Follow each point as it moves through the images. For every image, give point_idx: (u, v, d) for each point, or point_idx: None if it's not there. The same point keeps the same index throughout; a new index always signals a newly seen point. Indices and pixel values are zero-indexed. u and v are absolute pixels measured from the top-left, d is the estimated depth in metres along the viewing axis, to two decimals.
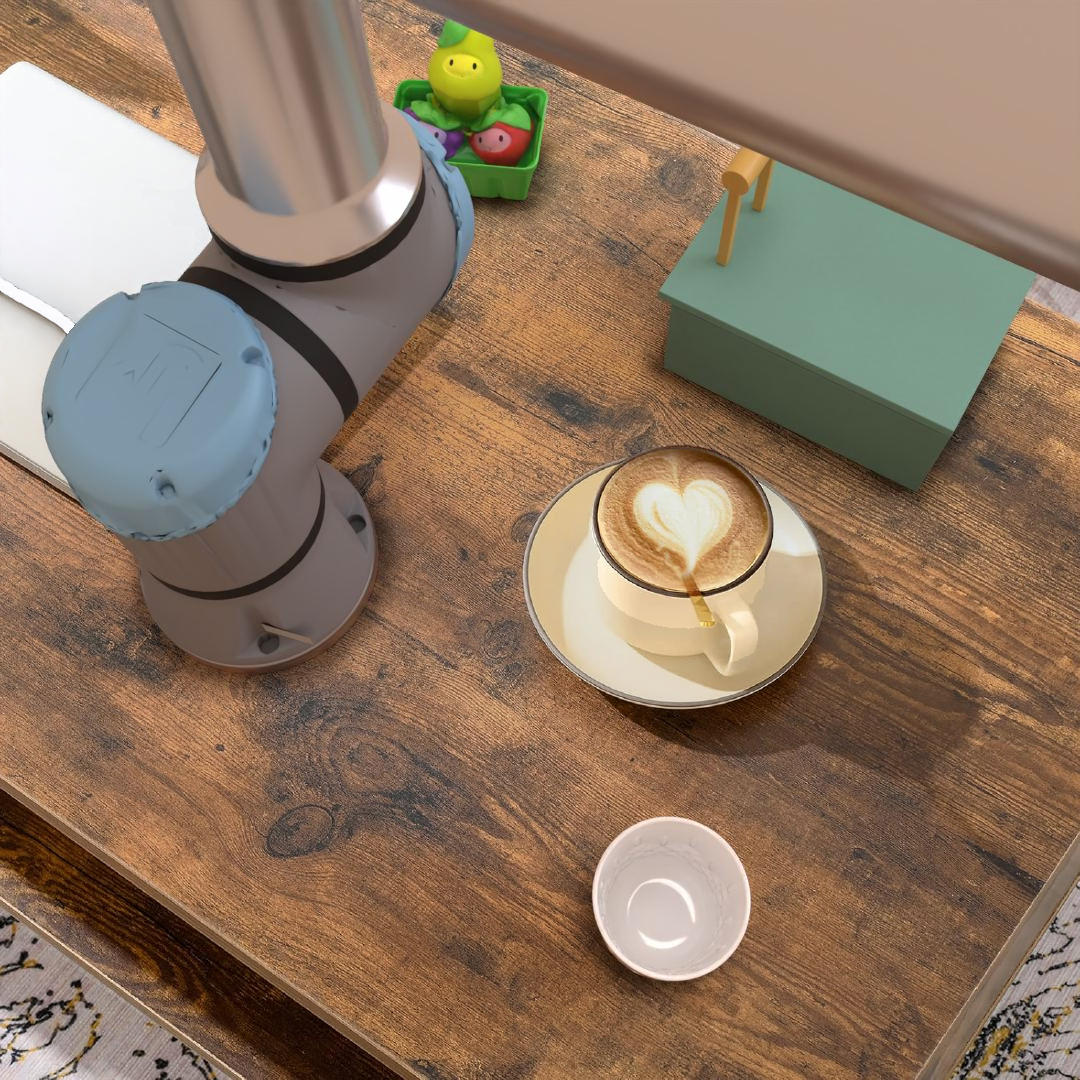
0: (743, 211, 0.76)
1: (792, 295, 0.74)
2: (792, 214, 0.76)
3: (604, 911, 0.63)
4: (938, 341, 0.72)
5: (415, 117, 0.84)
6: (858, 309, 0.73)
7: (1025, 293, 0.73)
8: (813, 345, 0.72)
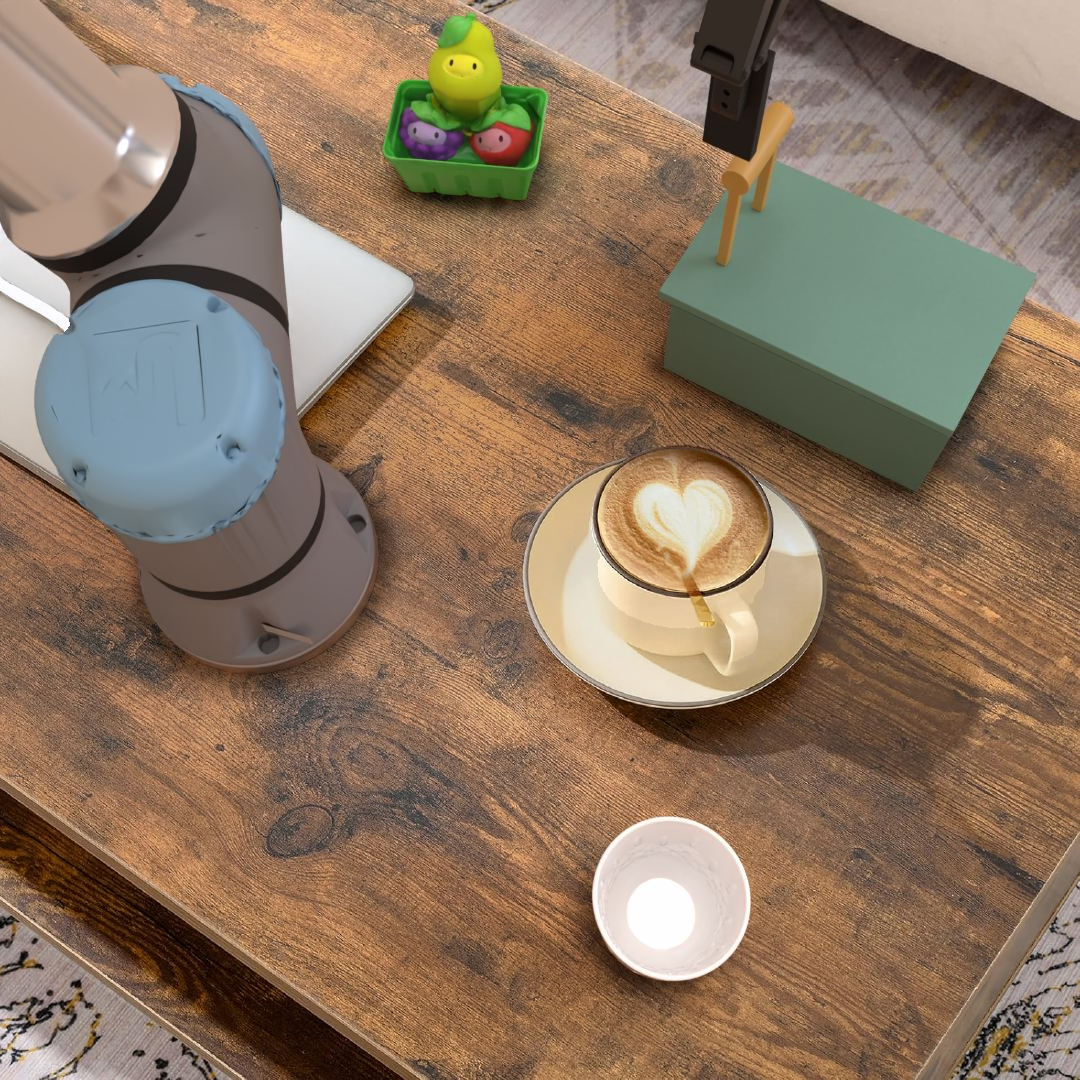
0: (743, 211, 0.76)
1: (792, 295, 0.74)
2: (792, 214, 0.76)
3: (604, 911, 0.63)
4: (938, 341, 0.72)
5: (415, 117, 0.84)
6: (858, 309, 0.73)
7: (1025, 293, 0.73)
8: (813, 345, 0.72)
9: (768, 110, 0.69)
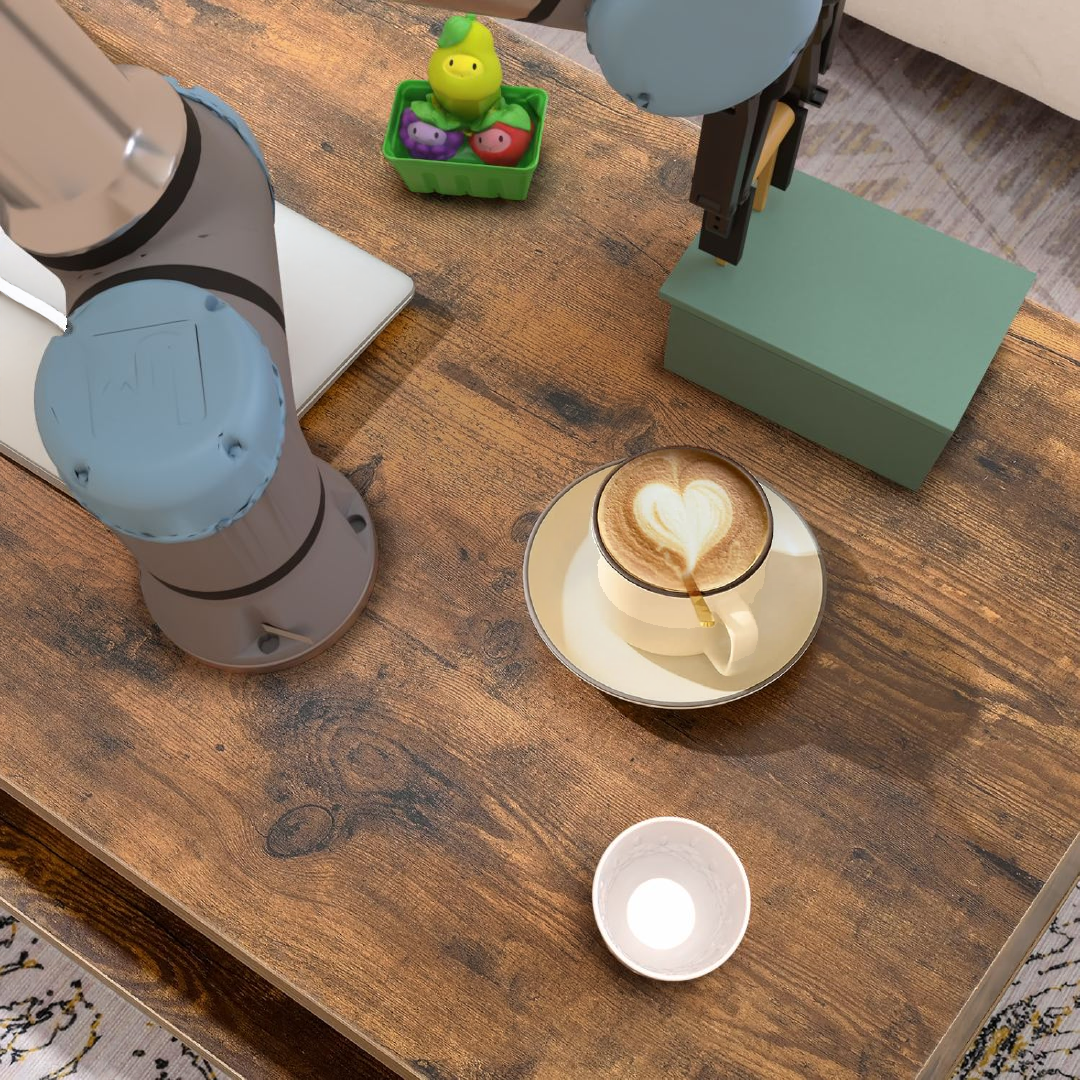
0: None
1: (792, 295, 0.74)
2: (792, 214, 0.76)
3: (604, 911, 0.63)
4: (938, 341, 0.72)
5: (415, 117, 0.84)
6: (858, 309, 0.73)
7: (1025, 293, 0.73)
8: (813, 345, 0.72)
9: None
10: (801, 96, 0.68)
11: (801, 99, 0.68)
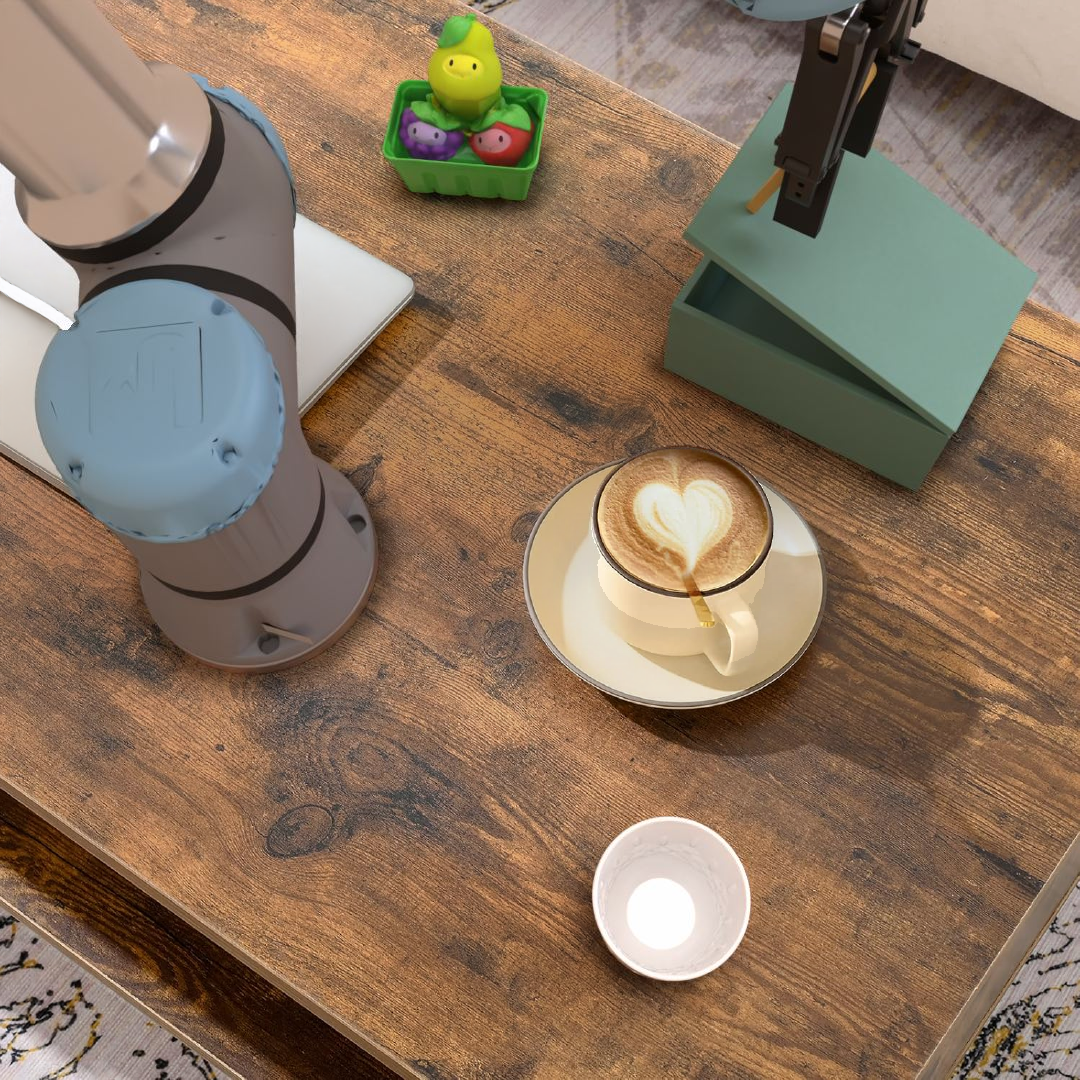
0: (775, 152, 0.70)
1: (817, 259, 0.69)
2: None
3: (604, 911, 0.63)
4: (948, 333, 0.71)
5: (415, 117, 0.84)
6: (878, 286, 0.70)
7: (1027, 294, 0.73)
8: (834, 319, 0.69)
9: None
10: (892, 51, 0.62)
11: (891, 54, 0.62)
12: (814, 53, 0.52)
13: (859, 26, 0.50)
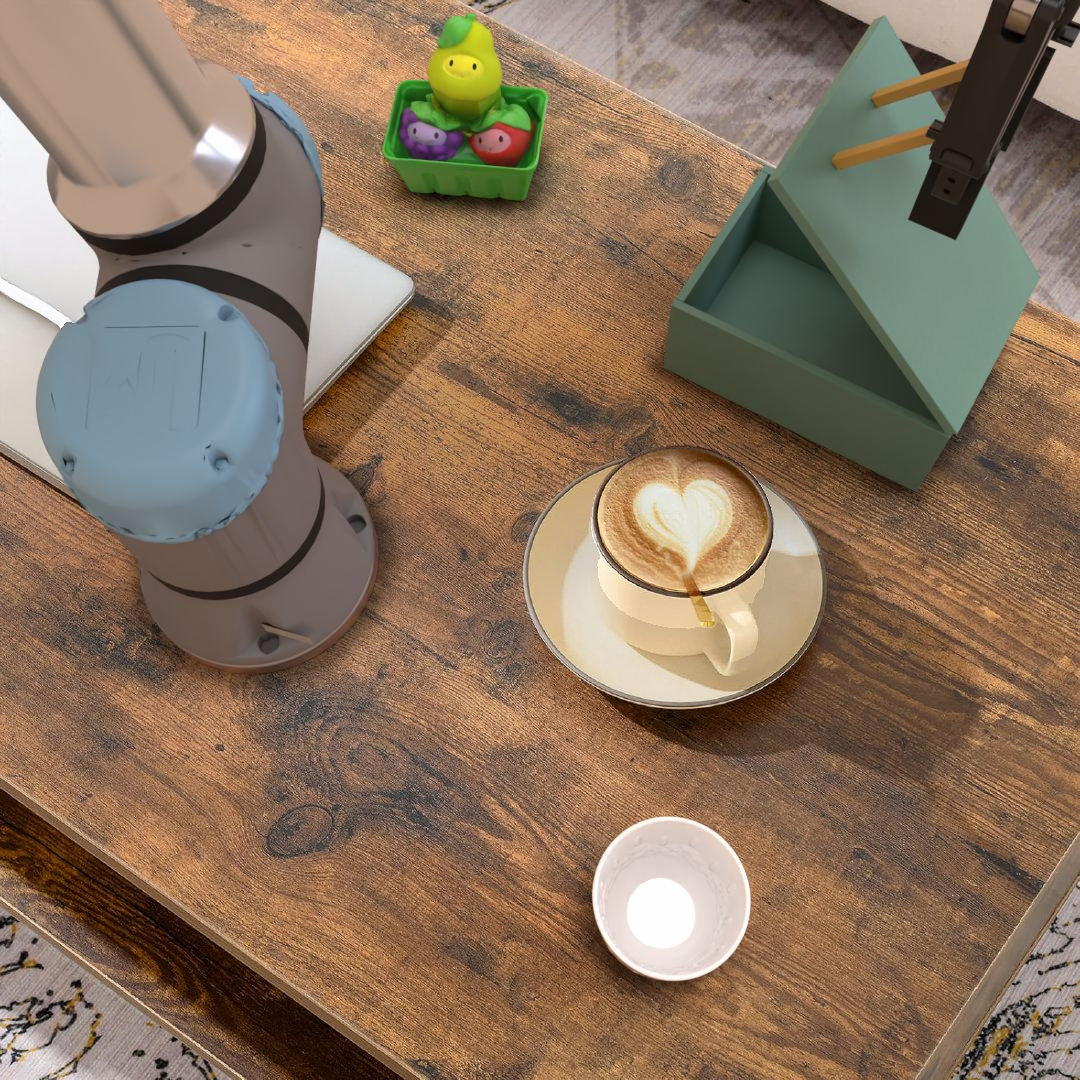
0: (863, 99, 0.63)
1: (881, 231, 0.65)
2: (899, 124, 0.65)
3: (604, 911, 0.63)
4: (968, 329, 0.70)
5: (415, 118, 0.84)
6: (924, 270, 0.67)
7: (1029, 295, 0.73)
8: (885, 302, 0.65)
9: None
10: None
11: None
12: (996, 32, 0.47)
13: (1056, 0, 0.44)
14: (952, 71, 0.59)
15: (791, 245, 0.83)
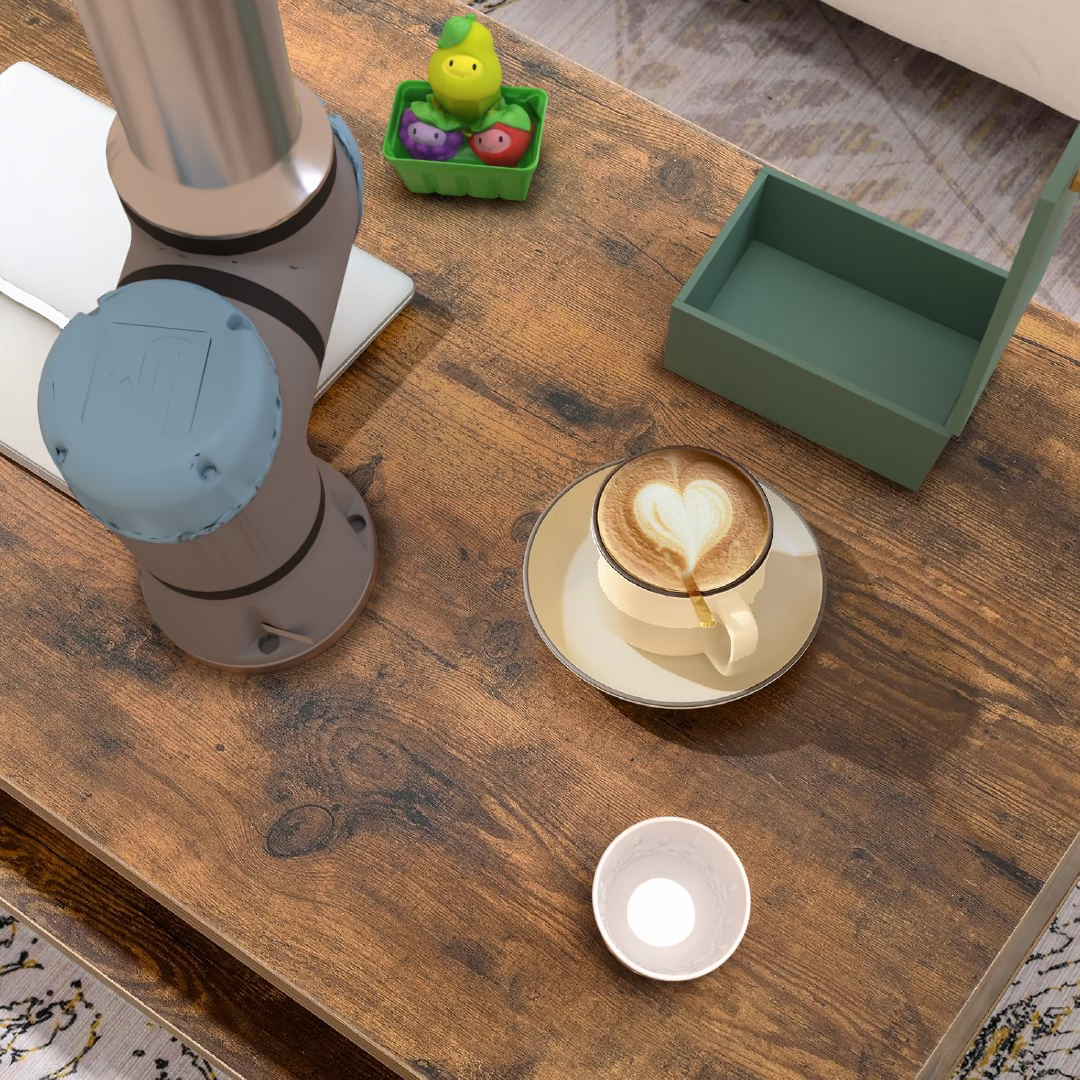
0: None
1: (1042, 251, 0.60)
2: None
3: (604, 911, 0.63)
4: (1007, 338, 0.68)
5: (415, 118, 0.84)
6: (1029, 286, 0.64)
7: (1031, 298, 0.73)
8: (1008, 322, 0.61)
9: None
10: None
11: None
12: None
13: None
14: None
15: (791, 245, 0.83)
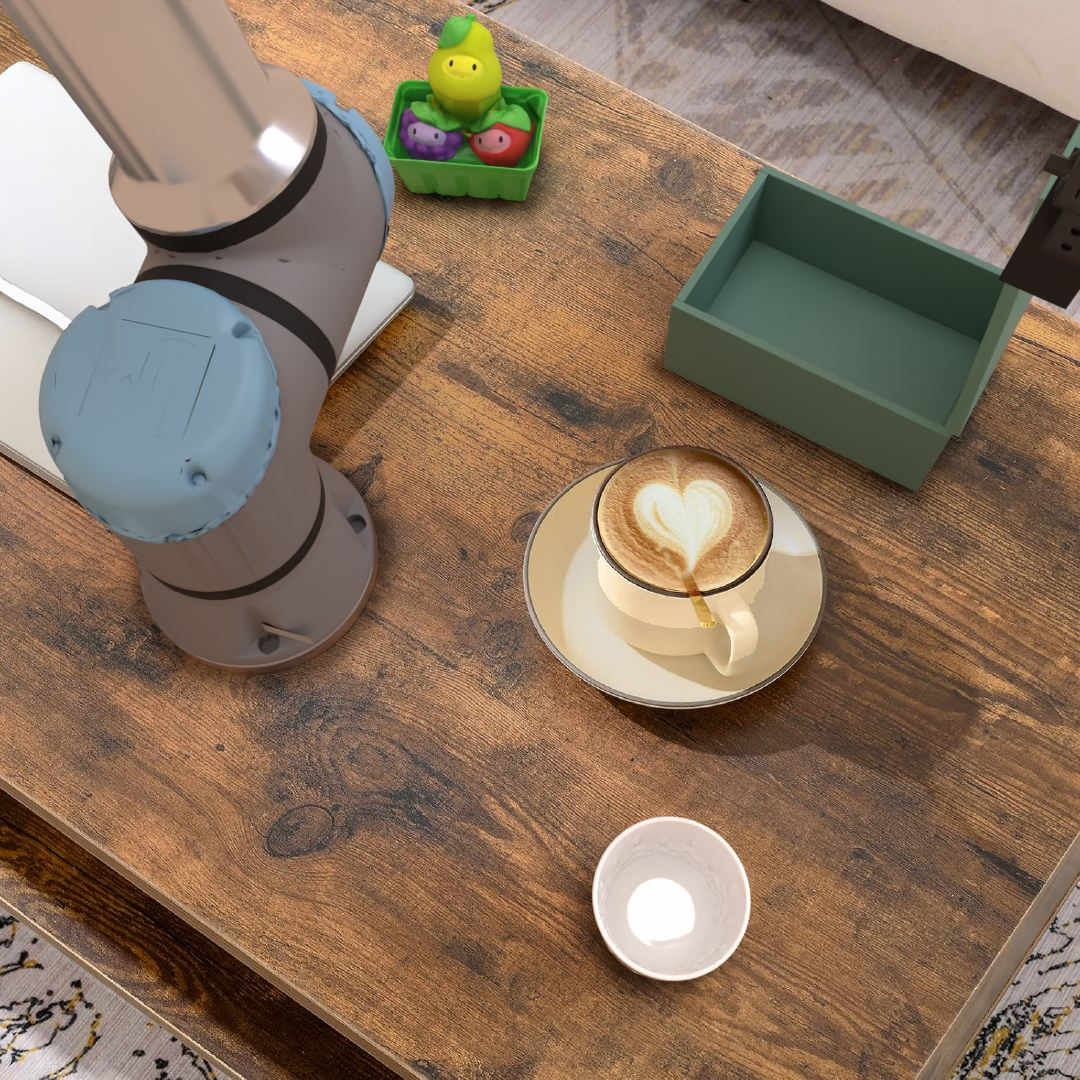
0: None
1: None
2: None
3: (604, 911, 0.63)
4: (1007, 338, 0.68)
5: (415, 118, 0.84)
6: None
7: (1031, 298, 0.73)
8: (1008, 322, 0.61)
9: None
10: None
11: None
12: None
13: None
14: None
15: (791, 245, 0.83)
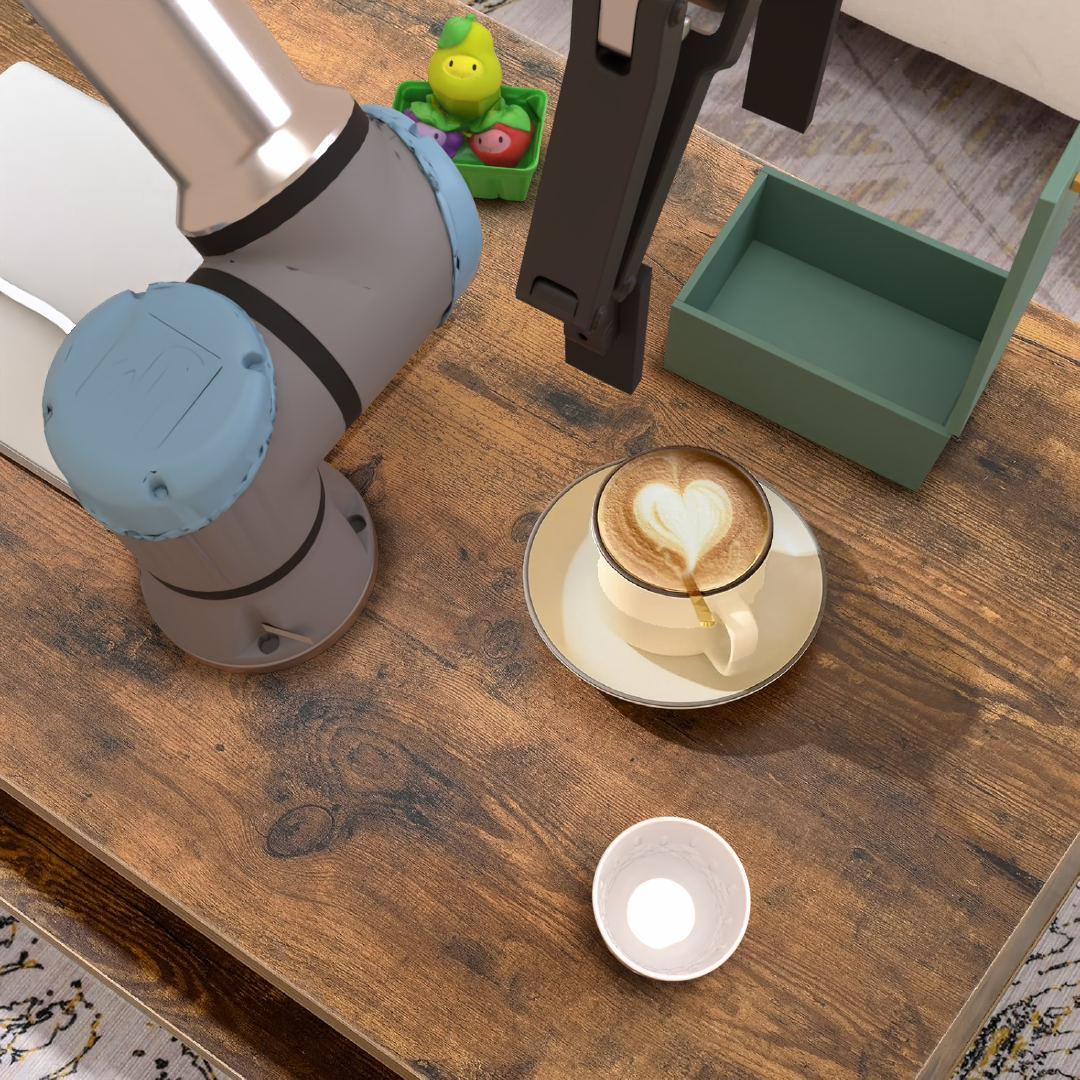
0: None
1: (1042, 251, 0.60)
2: None
3: (604, 911, 0.63)
4: (1007, 338, 0.68)
5: (415, 118, 0.84)
6: (1029, 286, 0.64)
7: (1031, 298, 0.73)
8: (1008, 322, 0.61)
9: None
10: None
11: None
12: (590, 54, 0.28)
13: None
14: None
15: (791, 245, 0.83)
